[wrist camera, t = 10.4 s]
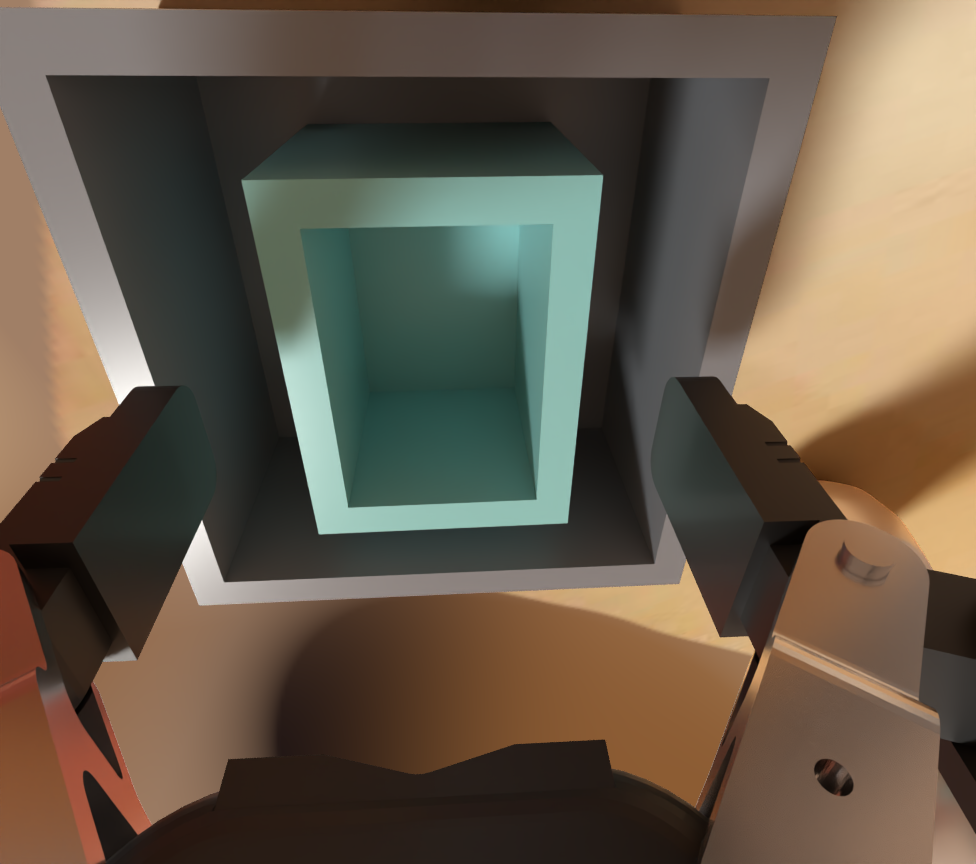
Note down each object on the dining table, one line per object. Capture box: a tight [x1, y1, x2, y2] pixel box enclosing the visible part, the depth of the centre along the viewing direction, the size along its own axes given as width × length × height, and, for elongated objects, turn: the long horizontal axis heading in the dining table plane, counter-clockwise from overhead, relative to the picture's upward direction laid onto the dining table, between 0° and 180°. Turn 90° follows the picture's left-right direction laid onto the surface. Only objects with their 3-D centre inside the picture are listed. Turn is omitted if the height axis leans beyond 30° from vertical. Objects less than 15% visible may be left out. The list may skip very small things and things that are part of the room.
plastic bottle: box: [817, 480, 976, 864], centre depth 17 cm, size 6×7×20 cm
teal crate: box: [241, 122, 603, 534], centre depth 15 cm, size 8×6×6 cm
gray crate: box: [0, 7, 837, 605], centre depth 15 cm, size 12×12×7 cm
